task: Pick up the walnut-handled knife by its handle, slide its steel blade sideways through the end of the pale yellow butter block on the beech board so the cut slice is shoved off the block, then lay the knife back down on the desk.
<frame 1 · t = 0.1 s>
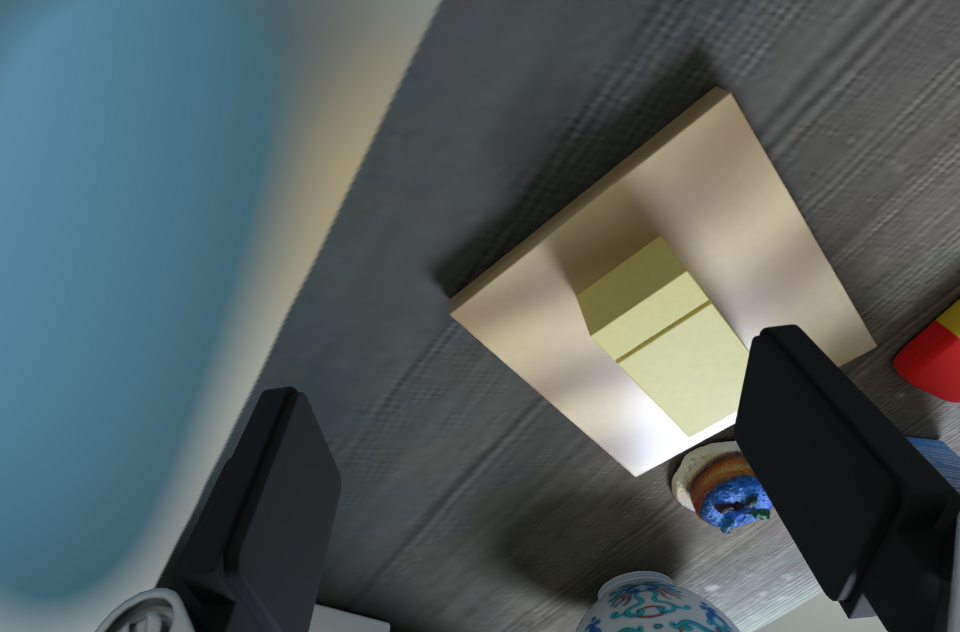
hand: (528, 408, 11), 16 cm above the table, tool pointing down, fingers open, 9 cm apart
label tape box: (870, 446, 36), on the table
butter block: (674, 334, 28), resting on cutting board
chinaware: (634, 589, 46), on the table
dessert: (720, 472, 37), on the table
butter slice: (627, 279, 26), point 1 cm above the table, touching cutting board
cutting board: (662, 315, 29), on the table
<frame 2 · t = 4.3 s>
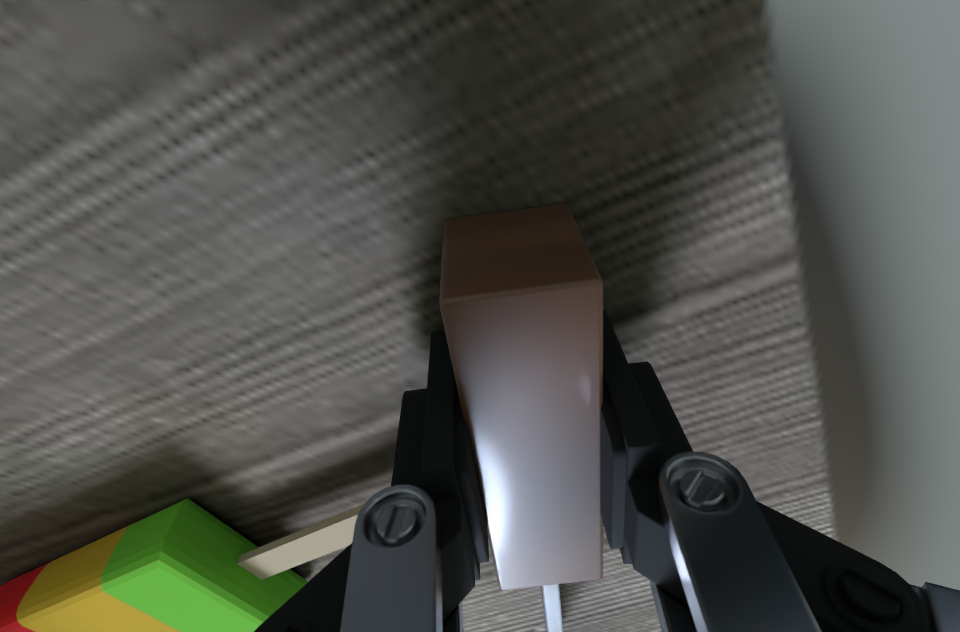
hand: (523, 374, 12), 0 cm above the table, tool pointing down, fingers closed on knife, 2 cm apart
knife: (522, 369, 12), on the table, touching gripper
popsicle: (218, 552, 16), on the table
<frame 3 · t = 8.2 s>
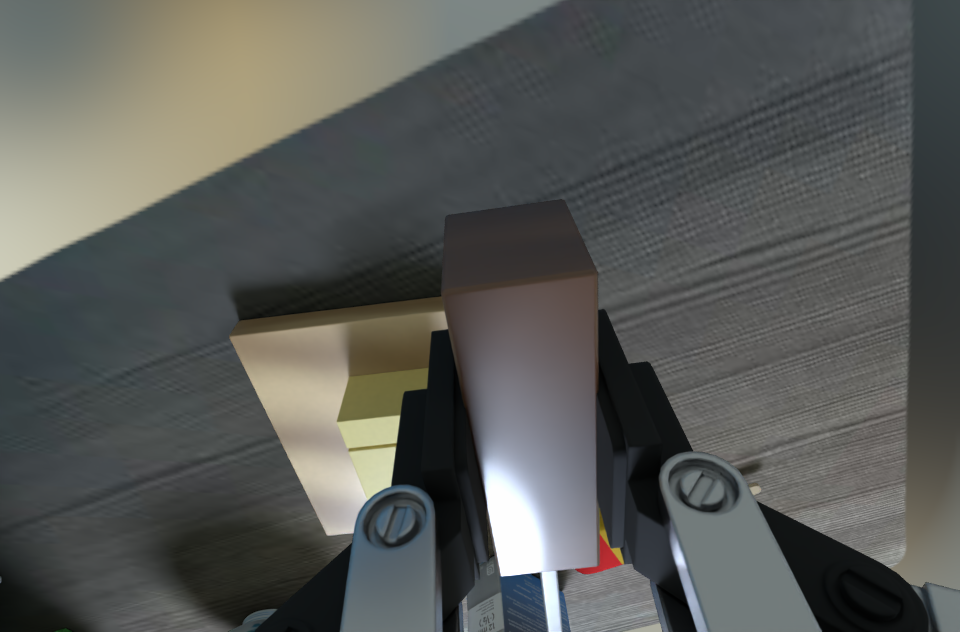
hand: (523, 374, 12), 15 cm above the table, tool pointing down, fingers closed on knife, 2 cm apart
knife: (521, 361, 12), point 14 cm above the table, touching gripper
label tape box: (517, 578, 44), on the table
butter block: (412, 441, 32), resting on cutting board
chinaware: (282, 624, 47), on the table
popsicle: (653, 508, 39), on the table
butter slice: (396, 384, 29), point 1 cm above the table, touching cutting board
cutting board: (413, 420, 33), on the table
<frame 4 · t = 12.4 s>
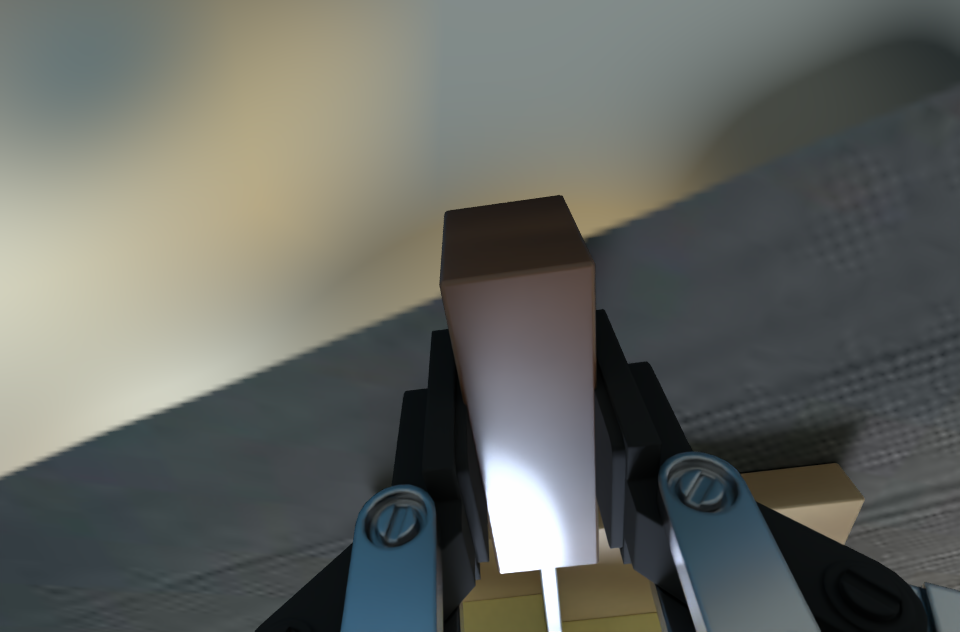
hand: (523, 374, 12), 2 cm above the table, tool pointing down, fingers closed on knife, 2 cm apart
knife: (521, 358, 12), point 2 cm above the table, touching butter slice, gripper
butter slice: (477, 614, 20), point 1 cm above the table, touching cutting board, knife
cutting board: (602, 617, 23), on the table
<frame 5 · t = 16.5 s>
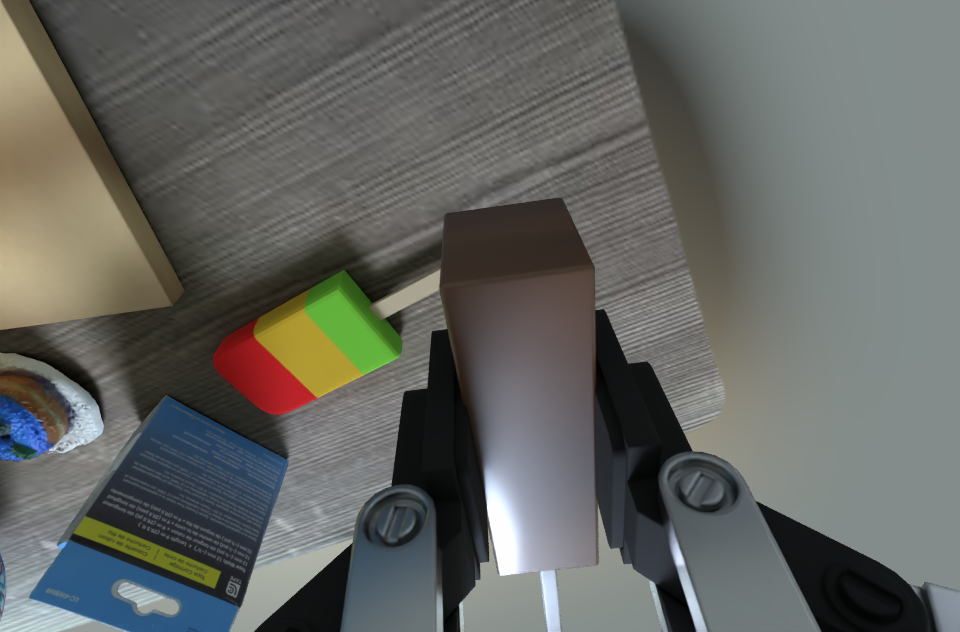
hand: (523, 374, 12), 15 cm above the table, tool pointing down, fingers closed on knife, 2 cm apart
knife: (520, 360, 12), point 14 cm above the table, touching gripper
label tape box: (219, 439, 34), on the table
dessert: (41, 400, 31), on the table
popsicle: (351, 316, 29), on the table
when the fingers open (1 cm above the table, at t = 19.8 s): knife stays where it is, on the table.
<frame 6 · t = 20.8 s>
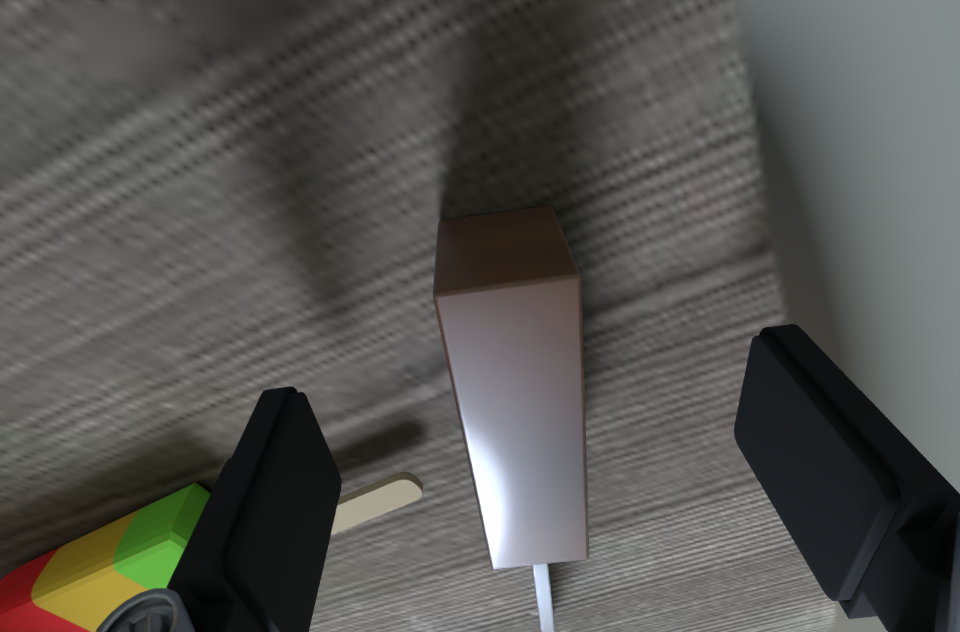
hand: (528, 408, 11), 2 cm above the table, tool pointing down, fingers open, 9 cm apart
knife: (513, 361, 13), on the table
popsicle: (224, 536, 17), on the table
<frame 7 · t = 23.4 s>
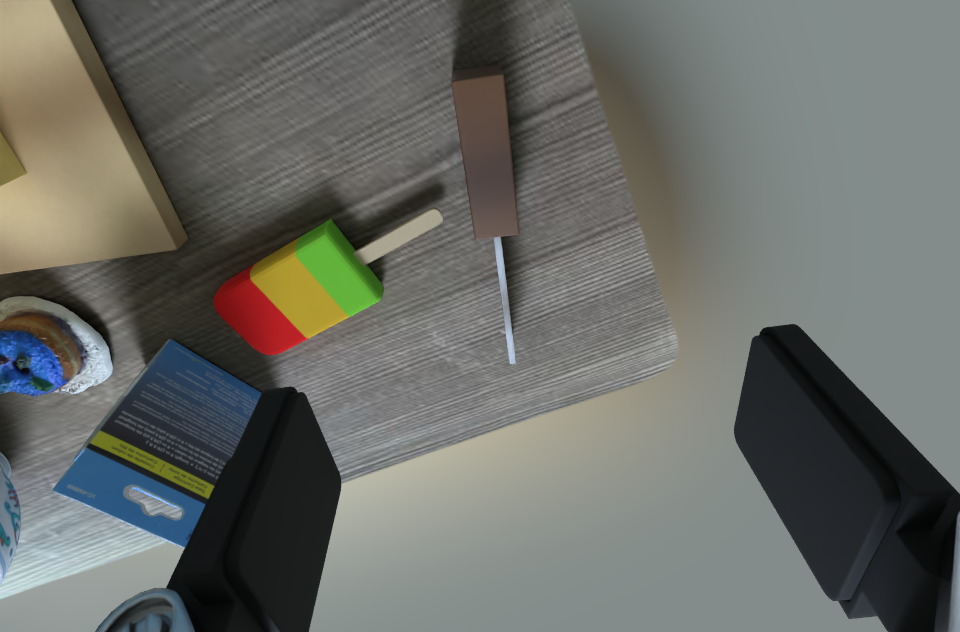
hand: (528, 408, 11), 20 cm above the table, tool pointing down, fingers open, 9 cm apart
knife: (485, 147, 28), on the table
label tape box: (218, 382, 37), on the table
dessert: (56, 342, 34), on the table
popsicle: (337, 264, 32), on the table
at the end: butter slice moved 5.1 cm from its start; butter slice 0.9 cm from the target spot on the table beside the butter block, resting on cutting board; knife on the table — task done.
